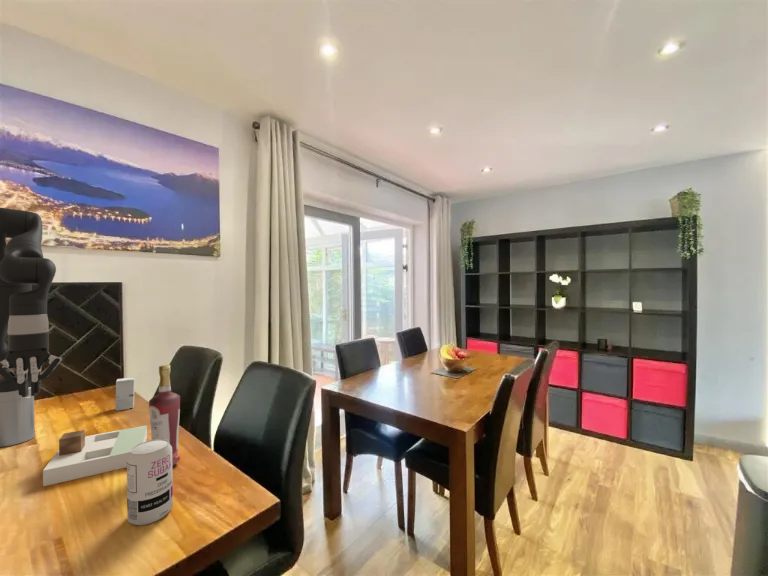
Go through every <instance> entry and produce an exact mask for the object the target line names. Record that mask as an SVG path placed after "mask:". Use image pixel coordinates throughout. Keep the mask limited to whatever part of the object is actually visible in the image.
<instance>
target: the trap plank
mask: <svg viewBox="0 0 768 576" xmlns="http://www.w3.org/2000/svg"><path fill="white" fill-rule="evenodd" d="M147 439H148V425H140V426H136V427H130V428H123V429H119V430H113V431H108V432H101V433H97V434H92V435H91V434H90V435H85V446H84V448H83V449H82V451H81V452H77V453H72V454H67V455H62V456H59V449H58V450H57V451H56V453H55V454H53V455H54V456H52V458H51V459H50V461H49V462H48V464H46V466H45V467H44V469H43V470H42V486H43V487H47V486H50V485H51V486H52V485H56V484H60V483H64V482H68V481H73V480H77V479H82V478H85V477H90V476H94V475H95V476H96V475H101V474H104V473H108V472H111V471H112V472H113V471H116V470H121V469H127V457H128V455H129V453H130V451H131V449H132V448H133V447H134V446H136V445H138V444H140V443H143V442H146V441H147Z"/></svg>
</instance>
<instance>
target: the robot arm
mask: <svg viewBox="0 0 768 576" xmlns="http://www.w3.org/2000/svg"><path fill="white" fill-rule="evenodd" d="M6 239H10V240H9V241H8V242H7V241H6ZM42 240H43V219H42V217H41V216H40V215H39V214H38V213H36V212H33V211H28V210H22V209H14V208H7V207H0V376H2V378H0V448H3V447H11V446H15V445H19V444H21V443H25V442H27V441H30V440H32V439H34V438H35V396H37V395H38V394H39V393H40V392H41V384H42V383H41V381H43V380H44V379H47V377H50V375H52V373H53V372H54V371H55V369H56V368H57V367H58V366H59V365H60V363H61V362H62V361H63V357H62V356H56V355H52V351H50V342H49V341H50V331H49V330H50V329H49V323H50V322H49V318H48V296H49V292H50V288H51V286H52V283H53V281H54V278H55V276H56V272H57V268H56V267H57V266H56V264H55V263H54V262H53V260H51V259H49V258H47V257H44V254H43V253H44V252H43V250H42ZM33 284H36V287H35V288H34V289H33ZM6 335H7V339H6ZM48 360H49V361H48ZM47 361H48V364H49V365H48V366H47V368H46V369H45V371H43V373H42V368H43V367H42V366H43V365H45V364H46V362H47ZM13 368H14V369H15V370H14V371H12V370H11V369H13Z"/></svg>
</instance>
